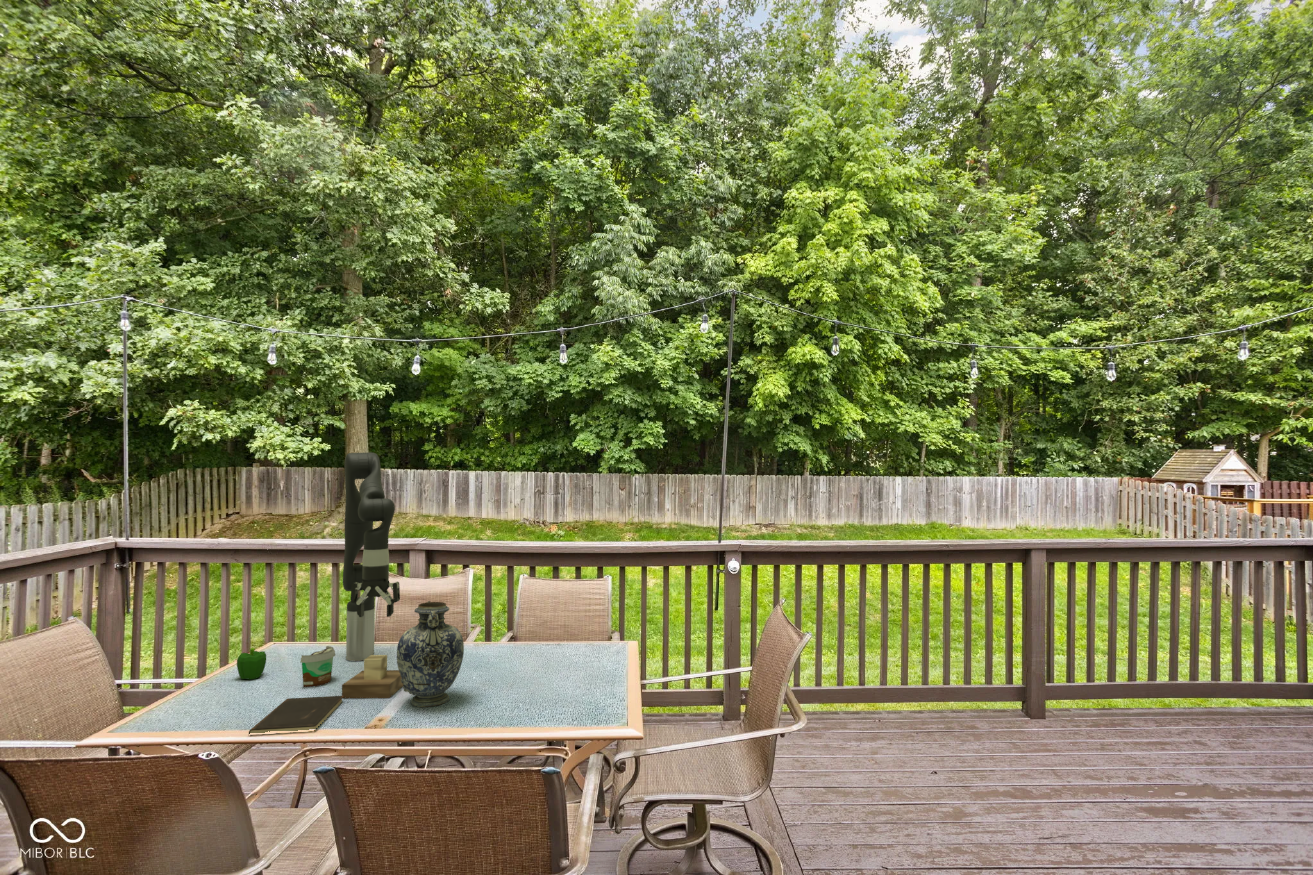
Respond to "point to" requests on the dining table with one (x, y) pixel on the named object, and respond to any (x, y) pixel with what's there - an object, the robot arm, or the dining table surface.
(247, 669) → the bell pepper
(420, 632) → the decorative vase
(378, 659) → the maple block
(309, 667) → the half round tub
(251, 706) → the dining table surface
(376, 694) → the block
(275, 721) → the hardcover book
